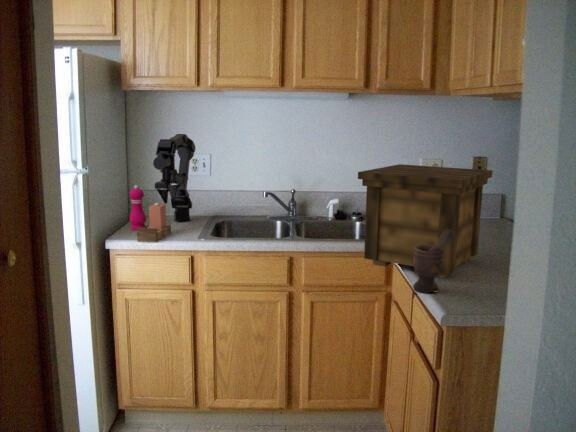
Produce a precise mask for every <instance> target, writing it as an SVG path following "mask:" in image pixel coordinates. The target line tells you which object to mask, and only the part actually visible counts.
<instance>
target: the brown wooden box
mask: <svg viewBox="0 0 576 432" xmlns="http://www.w3.org/2000/svg"><path fill="white" fill-rule="evenodd" d="M171 234H172V225H171V224H168V225H166V227H164V228H163V229H161V230H157V228H150V225H149V226H147V227H145V228H137V230H136V239H137V242H139V243H143V242H144V243H158V242H159V241H161V240H162V239H164V238H165V237H167V236H168V235H171Z"/></svg>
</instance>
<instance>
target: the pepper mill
mask: <svg viewBox="0 0 576 432" xmlns="http://www.w3.org/2000/svg"><path fill="white" fill-rule="evenodd" d="M129 197H130V198H131V199H130V202H131V204H132V207H131V212H130V215H129V223H130V224H131V225H130V230H131V231H137V228H146V224H145V223H146V222H147V216H146V214H145V212H144V210H143V203H144V201H143V200H144V199H143V197H144V191H143V190H142V189H141V188H139V186H138V185H137V184H134V186H133V188H132V189H130V191H129Z"/></svg>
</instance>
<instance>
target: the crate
mask: <svg viewBox="0 0 576 432" xmlns="http://www.w3.org/2000/svg"><path fill="white" fill-rule="evenodd" d="M490 178H493V170H492V169H476V168H475V169H474V168H459V167H448V166H447V167H446V166H432V165H431V166H429V165H416V164H415V165H414V164H395V165H390V166H383V167H378V168H372V169H367V170H363V171H357V180H362V183H361V185H362V187H366V195H365V196H366V200H365V202H366V203H365V223H364V224H365V228H364V231H365V232H364V253H363V254H364V255H363V259H364V260H365V259H366V260H370V261H372V265H373V266H374V265H375V266H380V267H387V266H389V265H391V264H392V263H393V264H397V265H398V264H399V265H405V266H410V267H414V263H413V259H414V247H415V246H416V245H422V244H428V245H435V244H436V243H437V241H438V239H439V238H440V236H441V234H442V233H443V232H444V231H445V230H446V229H450V230H452V231H453V232H454V234H453V236H452V238H451V239H450V240H449V241H448V242H447V243H446V244H445V245H444V246H443V247H442V248H443V249H444V254H443V263H442V268H441V270H440V273H439V275H438V276H443V277H446V276H447V275H448V276H450V275H451V274H453V272H455V271H456V267H458V266H459V265H460V264H465V263H467V262H469V260H470V259H469V258H470V257H475V256H477V254H478V253H479V252H478V251H479V249H478V248H479V241H480V240H479V239H480V227H481V226H480V224H481V214H482V212H481V211H482V201H483V191H484V189H483V188H484V187H483V186H484V185H487V184H488V182H489V181H488V180H489V179H490ZM449 274H450V275H449ZM448 276H447V277H448ZM443 277H442V278H443ZM447 277H446V278H447Z"/></svg>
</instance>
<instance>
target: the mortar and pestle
mask: <svg viewBox="0 0 576 432" xmlns="http://www.w3.org/2000/svg"><path fill="white" fill-rule="evenodd" d="M453 234H454V232H453V231H452V230H450V229H446V230H445V231H444V232H443V233H442V234H441V236H440V238H439V239H438V241H437V243H436V244H435V245H428V244H422V245H416V246H415V247H414V259H413V263H414V266H413V268H414V269H413V270H414V273H415V274H416V275H417V276H418V279H417V281H416V282H415V283H414V284H413V286H412V287H413V290H414V291H415V292H419V293H422V294H423V293H424V294H426V293H427V294H431V293H430V292H434V291H437V290H438V291H439V285H438V283H436V282H435V278H437V276H438V275H439V273H440V270H441V268H442V263H443V254H444V249H443V248H442V247H443V246H444V245H445V244H446V243H447V242H448V241H449V240H450V239H451V238H452V236H453Z"/></svg>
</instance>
